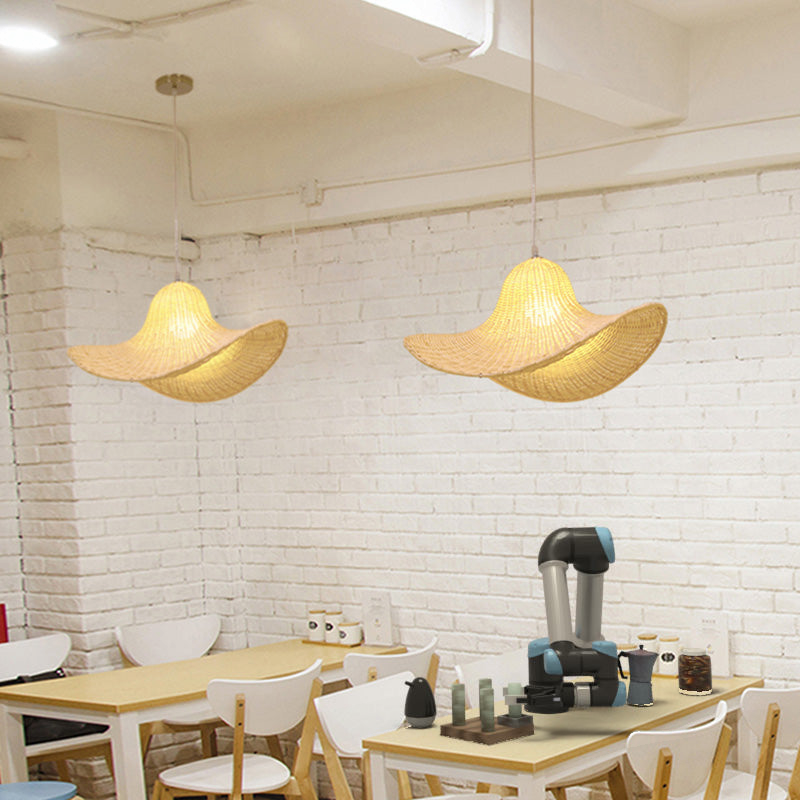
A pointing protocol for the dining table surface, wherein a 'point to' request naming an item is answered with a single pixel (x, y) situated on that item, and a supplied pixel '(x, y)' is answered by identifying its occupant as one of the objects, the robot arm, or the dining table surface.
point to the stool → (484, 719)
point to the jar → (694, 670)
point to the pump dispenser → (420, 703)
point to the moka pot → (639, 675)
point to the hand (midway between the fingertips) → (503, 695)
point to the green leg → (514, 710)
